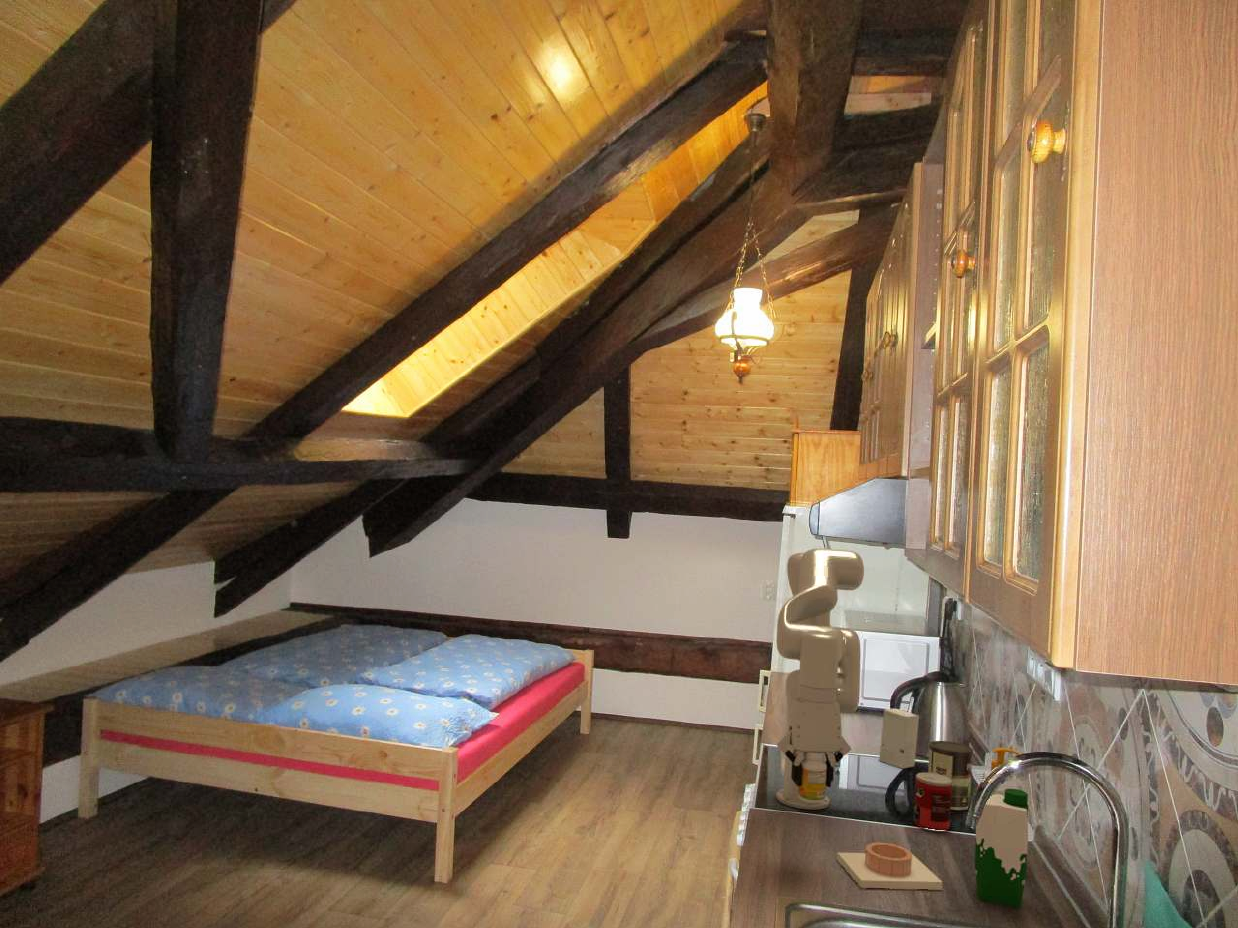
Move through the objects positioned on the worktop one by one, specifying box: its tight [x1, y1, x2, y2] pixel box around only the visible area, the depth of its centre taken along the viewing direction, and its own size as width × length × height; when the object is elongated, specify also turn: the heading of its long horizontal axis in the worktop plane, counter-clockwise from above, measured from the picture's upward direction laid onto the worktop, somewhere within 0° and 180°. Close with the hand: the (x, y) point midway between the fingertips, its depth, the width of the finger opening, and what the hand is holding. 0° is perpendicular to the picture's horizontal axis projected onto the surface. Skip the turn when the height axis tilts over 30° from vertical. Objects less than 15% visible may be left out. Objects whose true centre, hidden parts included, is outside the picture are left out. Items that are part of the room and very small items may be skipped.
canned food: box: [913, 772, 952, 831], centre depth 204 cm, size 8×8×11 cm
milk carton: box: [974, 788, 1029, 909], centre depth 168 cm, size 9×9×20 cm
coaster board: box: [836, 852, 943, 891], centre depth 175 cm, size 13×16×2 cm
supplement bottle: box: [798, 752, 827, 803], centre depth 178 cm, size 5×5×10 cm
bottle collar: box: [864, 842, 913, 876], centre depth 175 cm, size 9×9×3 cm
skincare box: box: [879, 708, 920, 769], centre depth 253 cm, size 8×6×15 cm
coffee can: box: [927, 740, 974, 811], centre depth 221 cm, size 10×10×14 cm
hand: (811, 783), depth 178 cm, fingers closed on supplement bottle, 5 cm apart
